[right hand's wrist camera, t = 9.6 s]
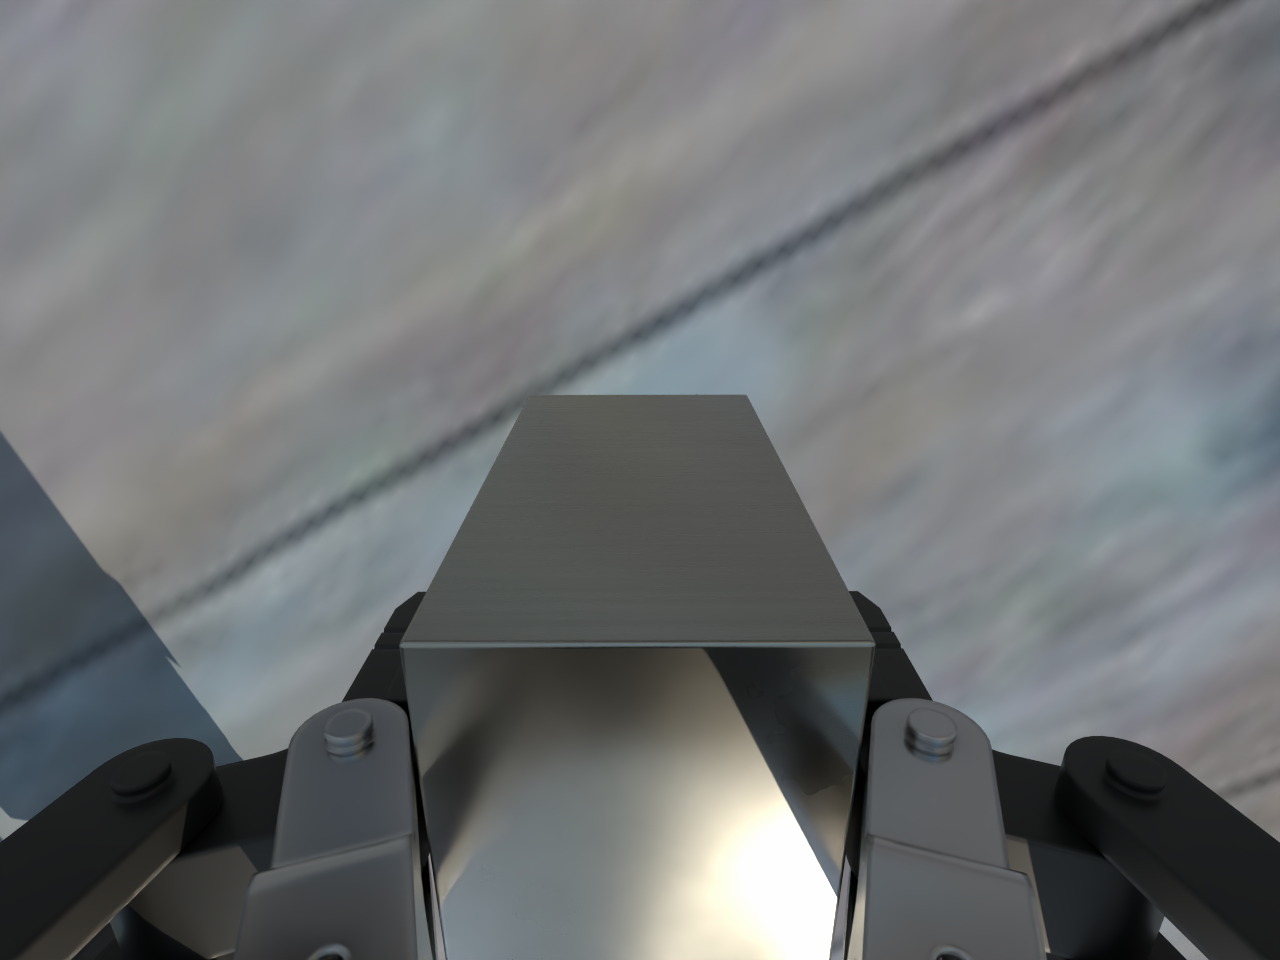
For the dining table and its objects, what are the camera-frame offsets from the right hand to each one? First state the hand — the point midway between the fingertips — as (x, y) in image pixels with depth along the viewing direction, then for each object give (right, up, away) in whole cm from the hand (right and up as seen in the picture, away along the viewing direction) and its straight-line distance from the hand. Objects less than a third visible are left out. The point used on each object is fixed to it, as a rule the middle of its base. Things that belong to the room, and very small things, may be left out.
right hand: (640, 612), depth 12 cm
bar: (0, -6, +8) cm, 10 cm away
